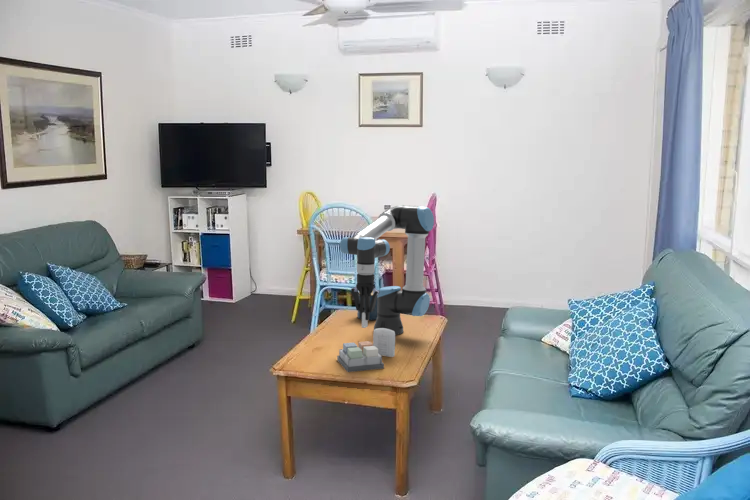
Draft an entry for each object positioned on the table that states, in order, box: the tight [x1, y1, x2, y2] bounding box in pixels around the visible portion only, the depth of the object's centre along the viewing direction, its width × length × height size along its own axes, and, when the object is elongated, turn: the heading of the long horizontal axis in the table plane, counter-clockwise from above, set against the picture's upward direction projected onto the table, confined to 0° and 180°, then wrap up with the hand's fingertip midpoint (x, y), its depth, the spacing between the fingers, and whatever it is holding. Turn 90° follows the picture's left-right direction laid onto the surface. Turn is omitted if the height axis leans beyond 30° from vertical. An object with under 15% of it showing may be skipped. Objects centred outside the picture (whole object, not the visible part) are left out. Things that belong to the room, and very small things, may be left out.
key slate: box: [342, 342, 358, 354], centre depth 268 cm, size 5×5×4 cm
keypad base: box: [336, 348, 385, 373], centre depth 266 cm, size 16×16×5 cm
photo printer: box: [372, 328, 396, 358], centre depth 279 cm, size 10×4×12 cm, turn 69°
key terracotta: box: [357, 340, 373, 352], centre depth 270 cm, size 5×5×4 cm
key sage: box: [348, 346, 362, 359], centre depth 261 cm, size 5×5×4 cm
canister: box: [356, 292, 378, 321], centre depth 343 cm, size 13×13×18 cm
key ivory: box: [363, 346, 378, 357], centre depth 264 cm, size 5×5×4 cm
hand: (364, 327), depth 269 cm, fingers closed
